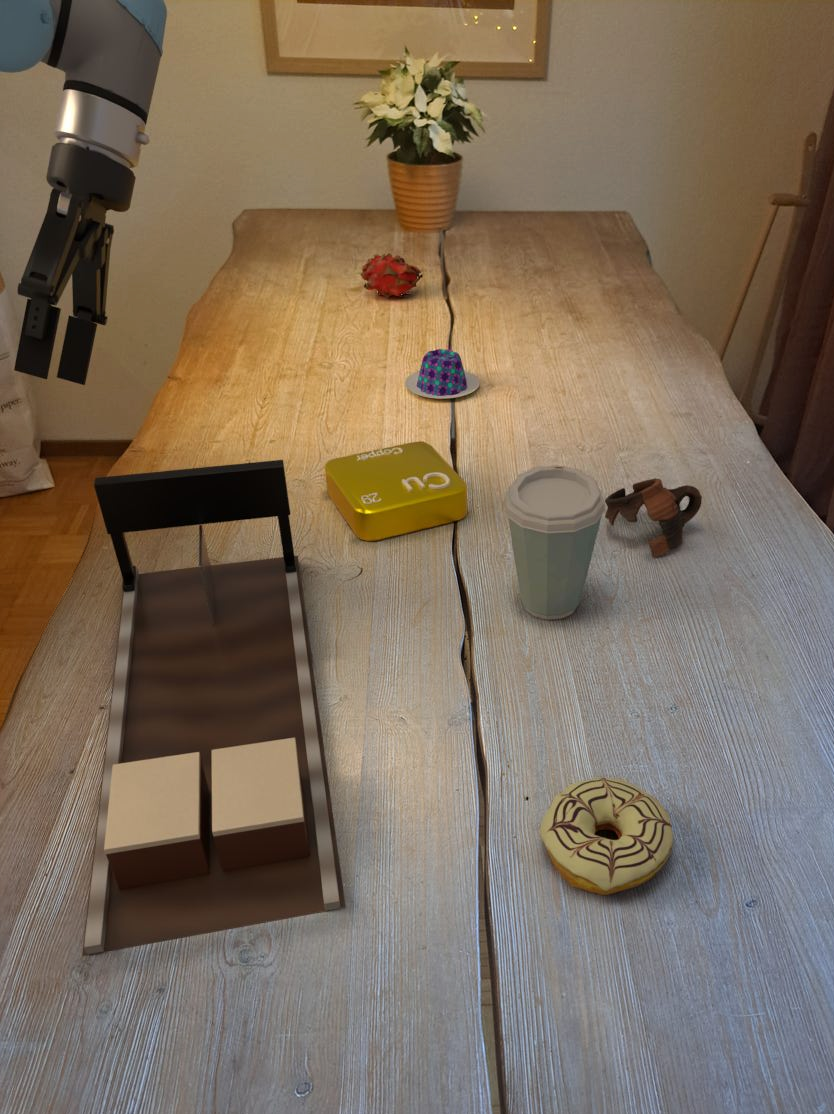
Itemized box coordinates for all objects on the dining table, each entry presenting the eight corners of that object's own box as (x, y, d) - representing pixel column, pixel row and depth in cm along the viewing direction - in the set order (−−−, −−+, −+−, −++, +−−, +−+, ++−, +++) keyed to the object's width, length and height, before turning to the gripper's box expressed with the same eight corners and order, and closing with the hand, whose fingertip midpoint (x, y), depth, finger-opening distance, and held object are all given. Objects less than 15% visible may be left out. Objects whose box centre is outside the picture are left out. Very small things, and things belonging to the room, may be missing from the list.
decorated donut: (515, 848, 79) (517, 819, 77) (596, 782, 85) (600, 753, 83) (612, 924, 73) (617, 895, 71) (692, 847, 79) (699, 818, 77)
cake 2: (221, 789, 82) (211, 749, 79) (301, 776, 84) (295, 737, 80) (222, 871, 76) (212, 831, 72) (310, 856, 77) (303, 816, 74)
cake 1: (126, 804, 81) (112, 764, 78) (209, 791, 82) (199, 751, 79) (119, 889, 74) (103, 849, 71) (209, 874, 75) (198, 834, 72)
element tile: (426, 466, 130) (425, 434, 127) (472, 518, 120) (472, 485, 117) (323, 489, 125) (319, 456, 122) (361, 545, 115) (358, 511, 112)
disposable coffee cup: (590, 638, 101) (603, 519, 92) (491, 626, 103) (494, 507, 93) (598, 581, 109) (611, 467, 100) (507, 571, 111) (511, 457, 101)
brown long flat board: (127, 583, 108) (122, 567, 107) (298, 563, 112) (296, 547, 110) (85, 965, 70) (78, 948, 69) (347, 916, 74) (344, 900, 72)
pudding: (492, 380, 152) (493, 349, 149) (457, 409, 144) (457, 376, 141) (428, 366, 157) (427, 335, 153) (390, 393, 148) (389, 361, 145)
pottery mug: (636, 570, 112) (613, 506, 110) (609, 559, 121) (587, 500, 119) (724, 530, 113) (703, 466, 111) (690, 522, 122) (671, 463, 120)
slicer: (125, 577, 106) (95, 471, 98) (296, 557, 110) (282, 454, 101) (118, 636, 98) (86, 526, 90) (303, 612, 102) (289, 504, 93)
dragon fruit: (357, 302, 184) (418, 310, 186) (360, 289, 176) (423, 296, 178) (360, 258, 184) (421, 266, 186) (362, 242, 175) (426, 251, 177)
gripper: (105, 130, 78) (55, 384, 82) (159, 199, 102) (119, 393, 106) (10, 98, 76) (-37, 358, 80) (88, 176, 100) (49, 373, 104)
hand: (52, 378), depth 93 cm, fingers open, 13 cm apart
